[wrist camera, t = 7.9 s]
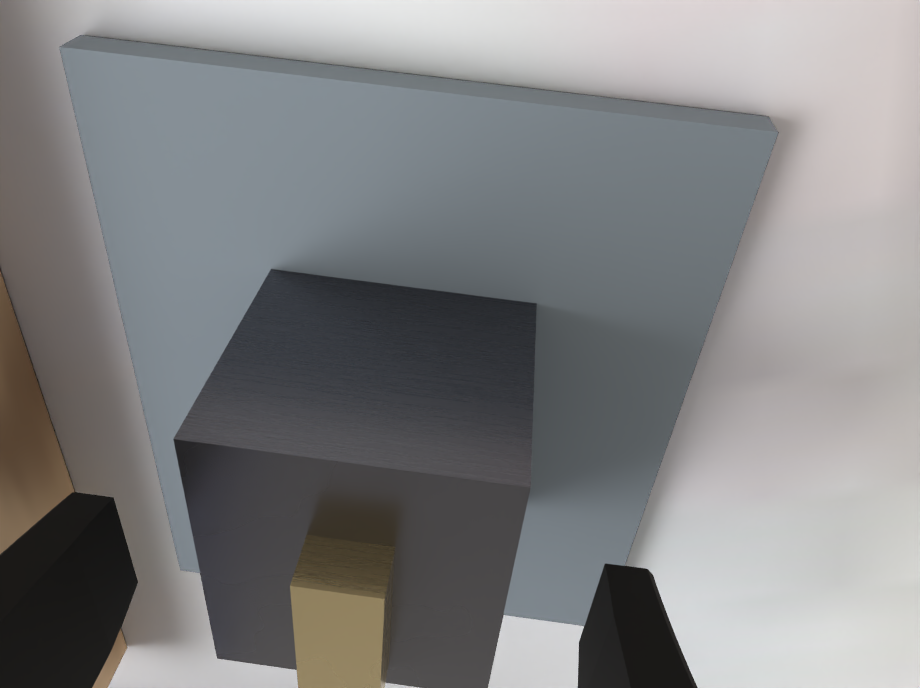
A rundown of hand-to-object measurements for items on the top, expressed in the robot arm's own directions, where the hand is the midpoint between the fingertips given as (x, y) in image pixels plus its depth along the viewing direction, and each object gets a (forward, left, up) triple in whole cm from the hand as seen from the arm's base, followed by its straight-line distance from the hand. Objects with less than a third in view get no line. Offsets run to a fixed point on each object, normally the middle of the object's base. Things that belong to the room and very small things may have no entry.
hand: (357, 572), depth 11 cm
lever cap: (0, 0, -4) cm, 4 cm away
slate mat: (0, 0, -4) cm, 4 cm away
